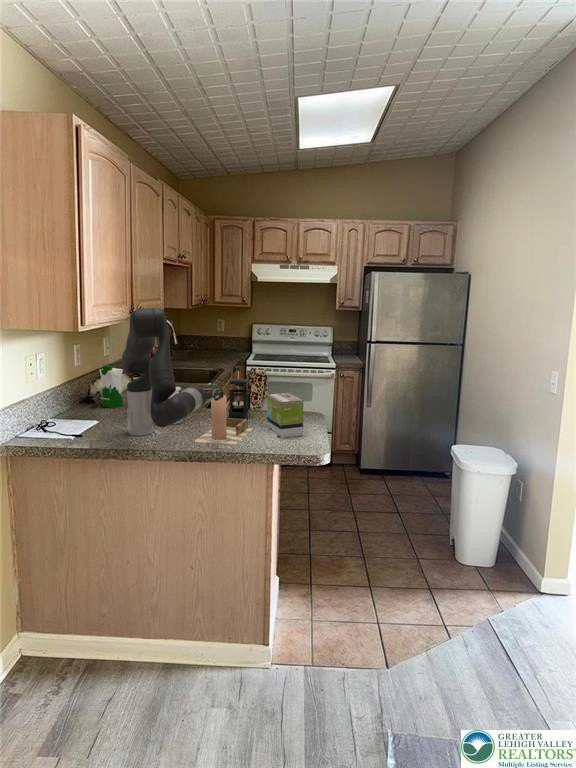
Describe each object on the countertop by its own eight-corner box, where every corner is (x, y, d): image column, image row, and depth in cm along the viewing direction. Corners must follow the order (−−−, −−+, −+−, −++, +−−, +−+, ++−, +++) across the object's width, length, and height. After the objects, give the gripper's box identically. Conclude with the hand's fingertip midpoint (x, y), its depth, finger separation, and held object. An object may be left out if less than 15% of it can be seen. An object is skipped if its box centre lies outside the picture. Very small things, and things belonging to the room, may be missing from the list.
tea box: (266, 429, 220) (266, 393, 218) (288, 426, 224) (288, 392, 222) (280, 438, 207) (280, 401, 204) (303, 436, 211) (304, 399, 208)
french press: (236, 421, 232) (236, 368, 228) (222, 417, 239) (221, 366, 234) (256, 416, 241) (256, 366, 236) (242, 413, 247) (242, 363, 243)
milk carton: (99, 406, 257) (97, 365, 254) (114, 403, 265) (112, 363, 261) (111, 409, 253) (109, 367, 249) (126, 405, 260) (124, 364, 257)
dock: (234, 447, 194) (234, 435, 193) (193, 444, 198) (193, 432, 197) (254, 430, 218) (254, 419, 217) (217, 427, 222) (217, 416, 221)
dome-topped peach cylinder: (223, 440, 198) (223, 398, 195) (209, 439, 199) (208, 397, 196) (231, 434, 206) (230, 393, 203) (217, 433, 207) (216, 393, 204)
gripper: (211, 389, 170) (228, 380, 186) (169, 386, 173) (189, 377, 188) (212, 412, 171) (228, 401, 187) (170, 409, 174) (189, 398, 190)
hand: (208, 389), depth 188 cm, fingers open, 8 cm apart
